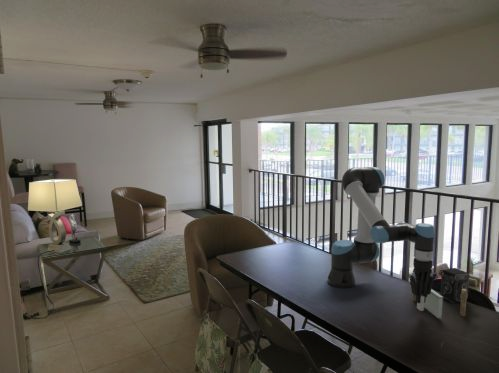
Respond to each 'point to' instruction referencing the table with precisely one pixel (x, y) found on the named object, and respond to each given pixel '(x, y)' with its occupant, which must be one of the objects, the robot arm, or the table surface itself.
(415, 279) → the hinge post
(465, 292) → the post
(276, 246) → the table surface
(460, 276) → the camera
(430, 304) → the gate
